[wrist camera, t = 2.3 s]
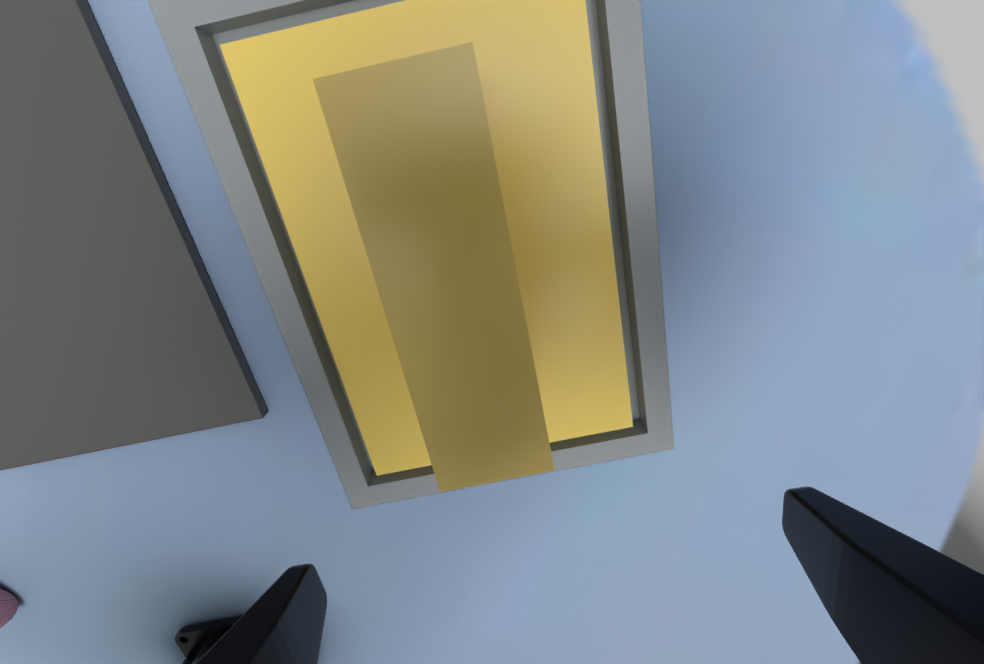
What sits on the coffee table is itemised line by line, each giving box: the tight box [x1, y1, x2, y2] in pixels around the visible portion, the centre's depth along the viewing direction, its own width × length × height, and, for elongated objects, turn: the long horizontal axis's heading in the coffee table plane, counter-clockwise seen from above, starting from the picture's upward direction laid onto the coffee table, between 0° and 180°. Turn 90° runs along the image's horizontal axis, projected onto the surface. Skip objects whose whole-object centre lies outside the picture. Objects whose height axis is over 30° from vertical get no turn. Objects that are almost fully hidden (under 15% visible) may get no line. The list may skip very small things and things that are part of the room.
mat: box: [0, 0, 268, 470], centre depth 19 cm, size 14×17×1 cm
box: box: [148, 0, 674, 509], centre depth 16 cm, size 11×15×7 cm
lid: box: [220, 0, 633, 492], centre depth 12 cm, size 8×12×4 cm
